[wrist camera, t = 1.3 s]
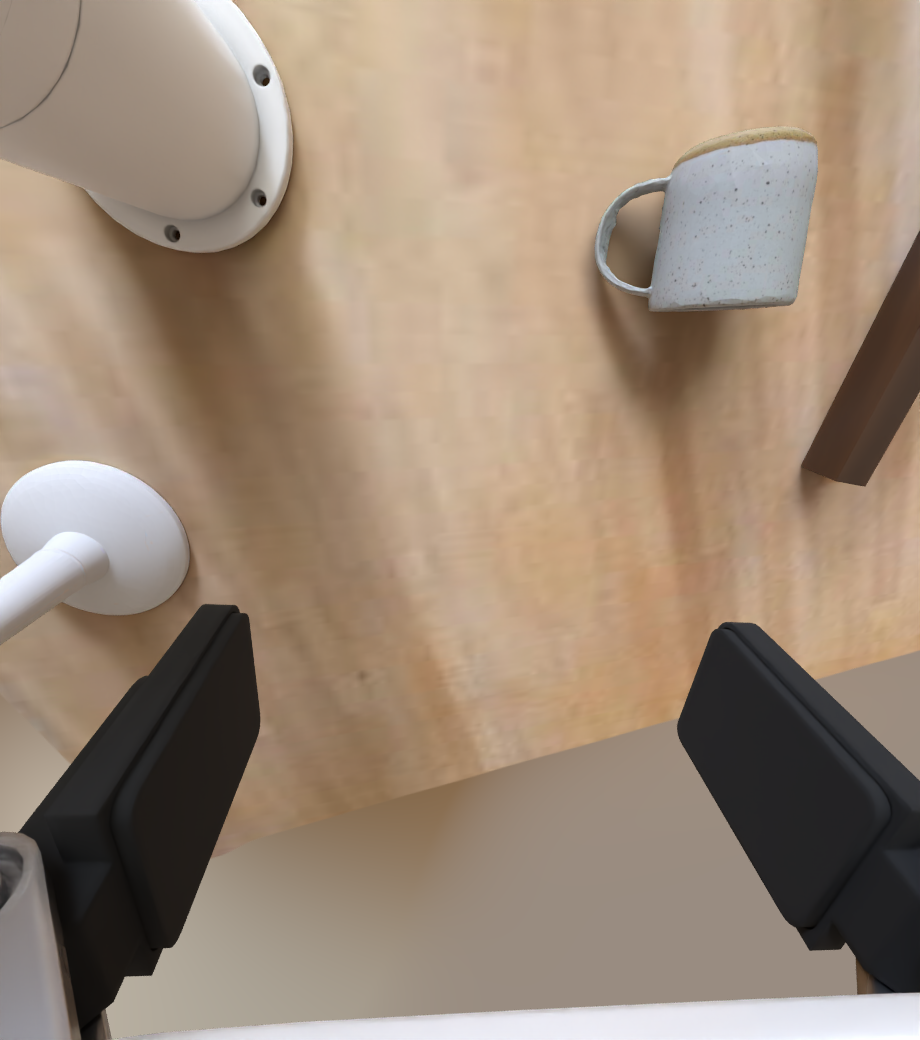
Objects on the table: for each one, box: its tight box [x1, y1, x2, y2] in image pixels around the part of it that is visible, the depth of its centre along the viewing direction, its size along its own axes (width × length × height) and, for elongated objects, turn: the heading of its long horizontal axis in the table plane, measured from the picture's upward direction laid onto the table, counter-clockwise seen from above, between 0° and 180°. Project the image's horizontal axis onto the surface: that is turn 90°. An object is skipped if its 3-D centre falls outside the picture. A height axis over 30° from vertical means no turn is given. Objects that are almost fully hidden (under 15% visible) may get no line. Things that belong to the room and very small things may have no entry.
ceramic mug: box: [595, 126, 818, 312], centre depth 27 cm, size 11×8×8 cm
